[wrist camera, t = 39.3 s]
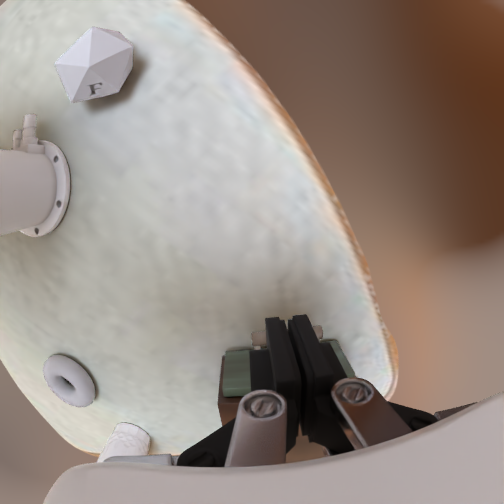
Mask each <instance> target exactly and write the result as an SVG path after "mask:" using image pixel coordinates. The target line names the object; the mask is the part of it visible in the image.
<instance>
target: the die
mask: <svg viewBox="0 0 504 504" xmlns="http://www.w3.org/2000/svg"><path fill="white" fill-rule="evenodd" d="M54 65H55V68H56V70H57V73H58V75H59V77H60V79H61V82H62V84H63V86H64V89H65V91H66V93H67V95H68V97H69V99H70V102H71V103H75V102H80V101H85V100H90V99H96V98H101V97H104V96H107V95H111V94H114V93H118V92H119V90H120V89H121V87H122V85H123V83H124V82H125V80H126V78H127V77H128V75H129V73H130V72H131V70H132V68H133V45H132V44H131V43H130V42H129V41H128V40H127V39H126V38H125V37H124V36H123V35H122V34H121V33H120V32H118V31H113V30H108V29H103V28H98V27H92V28H91V29H89V30H88V31H87V32H86V33H85V34H84V35H82V36H81V37H80V38H79V39H78V40H77V41H76V42H75V43H74V44H73V45H72V46H71V47H70V48H69V49H68V50H67V51H66V52H65V53H64V54H63V55H62V56H61V57H60V58H59V59H58V60H57V61H56V62H55V63H54Z"/></svg>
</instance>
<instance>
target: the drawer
mask: <svg viewBox="0 0 504 504" xmlns="http://www.w3.org/2000/svg"><path fill="white" fill-rule="evenodd" d="M312 327H313V329H314V331H315V333H316V336H317V338H318V340H319V342H320V339H322V337H323V330H322V327H321V326H320V325H319V326H312ZM287 331H288V329H287ZM251 335H252V346H254V347H255V350H261V345H267V342H266V331H262V332H252V333H251ZM328 342H329V343H330V344H331V346H332V348H333V350H334V352H335V353H336V355H337V357H338V359H339V361H340V363H341V365H342V367H343V369H344V371H345V373H346V375H347V377H348V378H350V377H353V378H354V376H355V373H354V371H353V369H352V367H351V365H350V364H349V362H348V360H347V358H346V356H345V355H344V353H343V351H342V349H341V348H340V346H339V344H338V342H337V340H335V341H328ZM321 343H324V342H321ZM222 389H223V395H224V397H230V396H233V398H238V397H244V396H245V395H247V394H249V393H250V392H251V380H250V358H249V350H242V351H226V352H225V364H224V375H223V387H222Z"/></svg>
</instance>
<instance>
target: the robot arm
mask: <svg viewBox="0 0 504 504" xmlns="http://www.w3.org/2000/svg"><path fill="white" fill-rule="evenodd" d="M36 120H37V115H36V114H27V115H25V116H24V120H23V139H22V130H21V129H18V130H14V131H13V148H12V149H11V150H0V236H2V235H5V234H9V233H12V232H15V231H18V230H20V231H21V232H22V233H24V234H25V235H27V236H30V237H40V236H43V235H46V234H48V233H50V232H51V231H53V230H54V229H55V228H56V227H57V225H58V224H59V223H60V221H61V219H62V218H63V216H64V213H65V211H66V208H67V204H68V200H69V194H70V174H69V168H68V164H67V161H66V159H65V157H64V154H63V153H62V151H61V150H60V149H59V147H57V146H56V145H55V144H54V143H52V142H49V141H44V140H38V138H37V137H35V129H36ZM265 324H266V342H267V349H261V350H249V358H250V380H251V392H250V393H249V394H247V395H245V396H244V397H243V398H242V399H241V401H240V403H239V407H238V411H237V416H236V417H235V418H234V419H232V420H231V421H229V422H228V423H227V424H225V425H224V426H222V427H221V428H219V429H218V430H216V431H215V432H213V433H212V434H210V435H209V436H207V437H206V438H204V439H203V440H201V441H200V442H198V443H197V444H195V445H193V446H192V447H190V448H188V449H187V450H185V451H184V452H183V453H182V454H181V455H180V456H171V454H160V455H142V456H113V457H109V458H107V459H105V460H104V461H103V462H98V463H88V464H83V465H78V466H75V467H72V468H70V469H68V470H67V471H65V472H64V473H63V474H62V475H61V476H60V477H59V478H58V479H57V481H56V482H55V484H54V485H53V486H52V488H51V489H50V491H49V493H48V495H47V496H46V498H45V500H44V502H43V504H504V392H501V393H498V394H495V395H493V396H490V397H488V398H486V399H484V400H482V401H480V402H476V403H471V404H467V405H464V406H460V407H456V408H452V409H448V410H443V411H438V412H436V413H435V414H434V415H432V414H430V413H427V412H424V411H421V410H417V409H413V408H409V407H405V406H402V405H398V404H395V403H391V402H388V401H386V400H385V399H384V397H383V396H382V395H381V394H380V393H379V392H378V390H377V389H376V388H375V387H374V386H373V385H372V384H371V383H370V382H369V381H367V380H364V379H361V378H353V377H350V378H348V377H347V375H346V373H345V371H344V369H343V367H342V365H341V363H340V361H339V359H338V357H337V355H336V353H335V352H334V350H333V348H332V346H331V344H330V343H329V342H324V343H320V342H319V340H318V338H317V336H316V333H315V331H314V329H313V327H312V325H311V323H310V321H309V319H308V317H307V315H306V314H304V315H295V316H293V318H292V319H289V320H288V331H287V327H286V324H285V321H284V320H279V317H274V318H265ZM299 424H300V429H301V433H302V436H308V440H309V443H311V442H315V443H317V444H319V445H322V451H323V454H324V456H325V457H324V458H319V459H313V460H307V461H301V462H294V463H286V454H287V453H288V452H289V451H290V450H291V449H292V448H293V447H294V446H295V445H296V437H298V435H299Z"/></svg>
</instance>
